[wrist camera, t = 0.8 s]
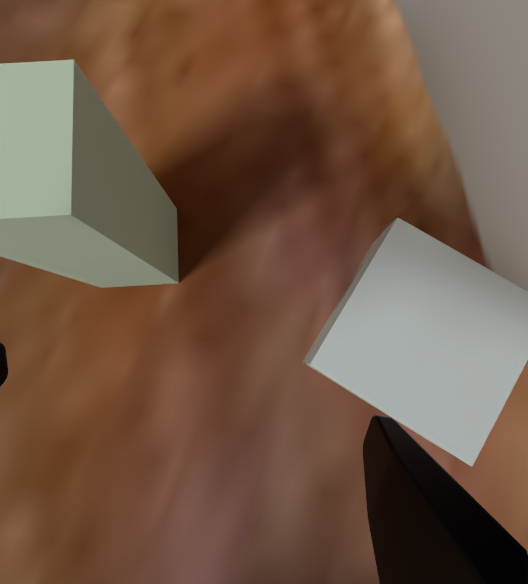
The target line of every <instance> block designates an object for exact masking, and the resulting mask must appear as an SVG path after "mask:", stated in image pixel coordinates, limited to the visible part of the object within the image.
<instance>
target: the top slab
mask: <svg viewBox="0 0 528 584" xmlns="http://www.w3.org/2000/svg"><path fill="white" fill-rule="evenodd" d="M527 360H528V291H526V290H524V289H522V288H521V287H519V286H517V285H515V284H514V283H512V282H510V281H508V280H507V279H505V278H503V277H501V276H500V275H498V274H496V273H494V272H493V271H491V270H489V269H487V268H486V267H484V266H482V265H480V264H479V263H477V262H475V261H473V260H472V259H470V258H468V257H466V256H465V255H463V254H461V253H459V252H458V251H456V250H454V249H452V248H451V247H449V246H447V245H445V244H444V243H442V242H440V241H438V240H437V239H435V238H433V237H431V236H430V235H428V234H426V233H424V232H423V231H421V230H419V229H417V228H416V227H414V226H412V225H410V224H409V223H407V222H405V221H403V220H401V219H400V218H398V217H397V218H396V219H395V220H394V221H393V222H392V223H391V224H390V225H389V226H388V227H387V228H386V229H385V230H384V231H383V232H382V233H381V235H380V237H379V239H378V240H377V242H376V244H375V245H374V247H373V249H372V250H371V252H370V254H369V255H368V257H367V259H366V260H365V262H364V264H363V265H362V267H361V269H360V270H359V272H358V274H357V275H356V277H355V279H354V280H353V282H352V284H351V285H350V287H349V289H348V290H347V292H346V294H345V295H344V297H343V299H342V300H341V302H340V304H339V305H338V307H337V309H336V310H335V312H334V314H333V315H332V317H331V319H330V320H329V322H328V324H327V325H326V327H325V329H324V330H323V332H322V334H321V336H320V337H319V339H318V341H317V342H316V344H315V346H314V347H313V349H312V351H311V352H310V354H309V356H308V357H307V359H306V361H305V362H306V363H307V364H309V365H310V366H312V367H314V368H315V369H317V370H318V371H320V372H322V373H323V374H325V375H326V376H328V377H330V378H331V379H333V380H334V381H336V382H338V383H339V384H341V385H342V386H344V387H345V388H347V389H349V390H350V391H352V392H353V393H355V394H357V395H358V396H360V397H361V398H363V399H365V400H366V401H368V402H369V403H371V404H373V405H374V406H376V407H377V408H379V409H381V410H382V411H384V412H385V413H387V414H388V415H390V416H392V417H393V418H395V419H396V420H398V421H400V422H401V423H403V424H404V425H406V426H408V427H409V428H411V429H412V430H414V431H416V432H417V433H419V434H420V435H422V436H424V437H425V438H427V439H428V440H430V441H431V442H433V443H435V444H436V445H438V446H439V447H441V448H443V449H444V450H446V451H447V452H449V453H451V454H452V455H454V456H455V457H457V458H459V459H460V460H462V461H463V462H465V463H467V464H468V465H470V466H471V467H472V466H473V464H474V462H475V460H476V458H477V456H478V454H479V452H480V451H481V449H482V447H483V445H484V443H485V441H486V439H487V437H488V435H489V433H490V431H491V429H492V427H493V425H494V424H495V422H496V420H497V418H498V416H499V414H500V412H501V410H502V408H503V406H504V404H505V402H506V400H507V399H508V397H509V395H510V393H511V391H512V389H513V387H514V385H515V383H516V381H517V379H518V377H519V375H520V373H521V372H522V370H523V368H524V366H525V364H526V362H527Z"/></svg>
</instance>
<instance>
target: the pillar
mask: <svg viewBox="0 0 528 584" xmlns="http://www.w3.org/2000/svg"><path fill="white" fill-rule="evenodd" d="M0 256H1V257H4V258H8V259H11V260H14V261H17V262H21V263H24V264H27V265H30V266H33V267H37V268H40V269H43V270H46V271H49V272H53V273H56V274H59V275H62V276H65V277H69V278H72V279H75V280H78V281H82V282H85V283H88V284H91V285H94V286H98V287H101V288H104V287H121V286H138V285H156V284H173V283H179V275H178V234H177V208H176V207H175V205H174V204H173V202H172V201H171V200H170V198H169V197H168V195H167V194H166V192H165V191H164V189H163V188H162V187H161V185H160V184H159V182H158V181H157V179H156V178H155V176H154V175H153V174H152V172H151V171H150V169H149V168H148V166H147V165H146V163H145V162H144V160H143V159H142V158H141V156H140V155H139V153H138V152H137V150H136V149H135V147H134V146H133V145H132V143H131V142H130V140H129V139H128V137H127V136H126V134H125V133H124V132H123V130H122V129H121V127H120V126H119V124H118V123H117V121H116V120H115V118H114V117H113V116H112V114H111V113H110V111H109V110H108V108H107V107H106V105H105V104H104V103H103V101H102V100H101V98H100V97H99V95H98V94H97V92H96V91H95V90H94V88H93V87H92V85H91V84H90V82H89V81H88V79H87V78H86V76H85V75H84V74H83V72H82V71H81V69H80V68H79V66H78V65H77V63H76V62H75V61H74V60H59V61H42V62H24V63H7V64H0Z"/></svg>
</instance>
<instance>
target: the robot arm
mask: <svg viewBox="0 0 528 584" xmlns="http://www.w3.org/2000/svg"><path fill="white" fill-rule="evenodd" d="M7 375H8V366H7V358H6V349H5V346H4V345H3V344H2V343H0V386H1V385H2V384H3V383H4V382H5V380H6V378H7ZM363 461H364V474H365V487H366V500H367V512H368V520H369V526H370V532H371V538H372V543H373V549H374V554H375V560H376V565H377V570H378V576H379V581H380V584H528V555H527V551H526V550H525V549H524V548H523V547H522V546H521V545H520V544H519V543H518V542H517V541H516V540H515V539H514V538H513V537H512V536H511V535H510V534H509V533H508V532H507V531H506V530H505V529H504V528H503V527H502V526H501V525H500V524H499V523H498V522H497V521H496V520H495V519H494V518H493V517H492V516H491V515H490V514H489V513H488V512H487V511H486V510H485V509H484V508H483V507H482V506H481V505H480V504H479V503H478V502H477V501H476V500H475V499H474V498H473V497H472V496H471V495H470V494H469V493H468V492H467V491H466V490H465V489H464V488H463V487H462V486H461V485H460V484H459V483H458V482H457V481H456V480H455V479H454V478H453V477H452V476H451V475H450V474H449V473H448V472H446V471H445V470H444V469H443V468H442V467H441V466H440V465H439V464H438V463H437V462H436V461H435V460H434V459H433V458H432V457H431V456H430V455H429V454H428V453H427V452H426V451H425V450H424V449H423V448H422V447H421V446H420V445H419V444H418V443H417V442H416V441H415V440H414V439H413V438H412V437H411V436H410V435H409V434H408V433H407V432H406V431H405V430H404V429H403V428H402V427H401V426H400V425H399V424H398V423H397V422H396V421H395V420H394V419H393V418H391V417H387V416H381V415H374V416H373V417H372V419H371V421H370V424H369V427H368V430H367V433H366V436H365V439H364V443H363Z"/></svg>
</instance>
